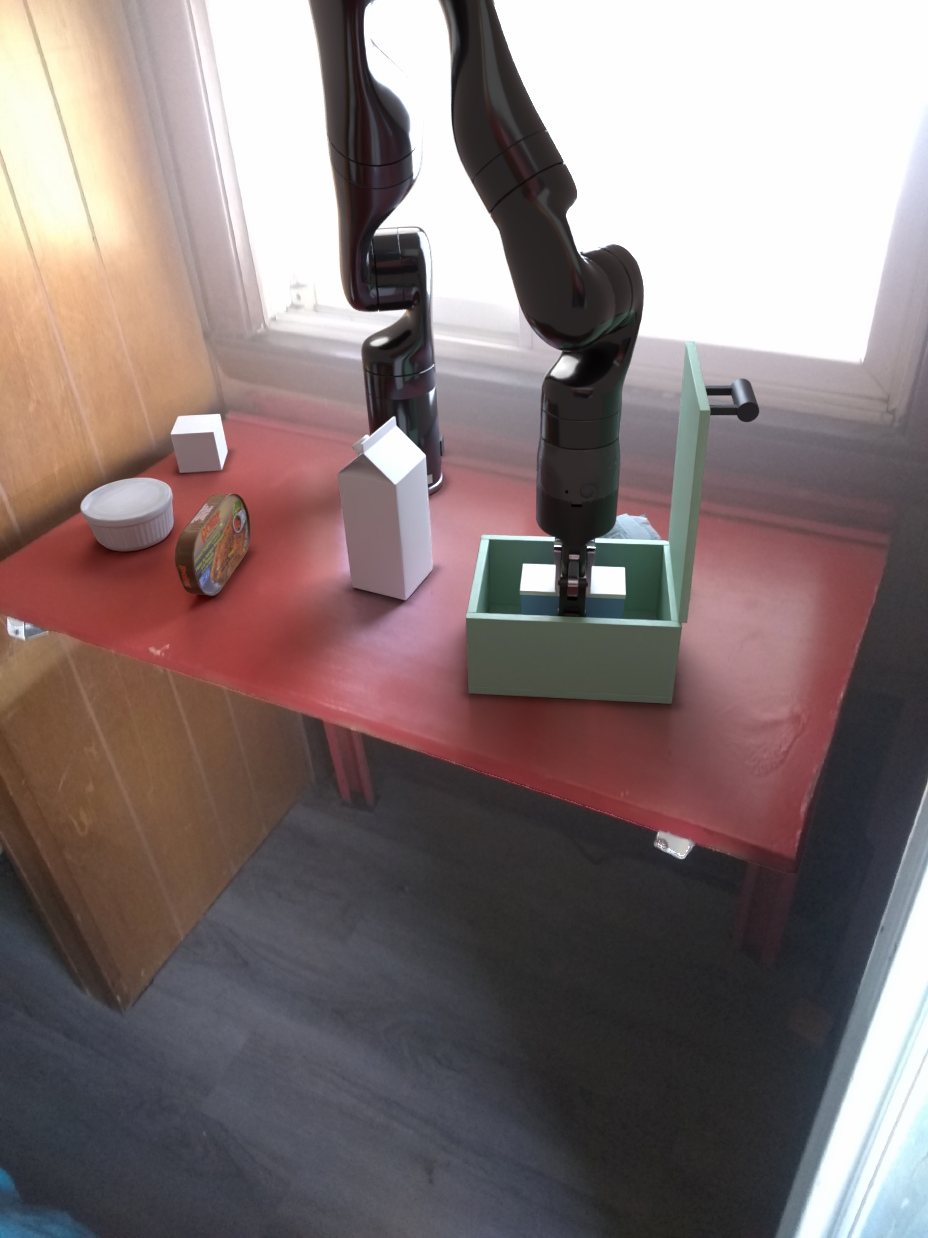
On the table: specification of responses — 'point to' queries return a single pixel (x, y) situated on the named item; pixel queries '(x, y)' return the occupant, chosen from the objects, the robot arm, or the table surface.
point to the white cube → (199, 443)
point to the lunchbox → (573, 628)
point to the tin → (213, 544)
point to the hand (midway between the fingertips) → (571, 626)
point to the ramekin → (129, 513)
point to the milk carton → (387, 513)
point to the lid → (696, 464)
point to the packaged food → (632, 529)
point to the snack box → (598, 603)
